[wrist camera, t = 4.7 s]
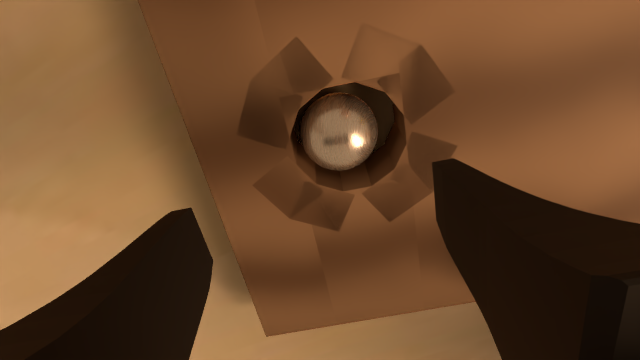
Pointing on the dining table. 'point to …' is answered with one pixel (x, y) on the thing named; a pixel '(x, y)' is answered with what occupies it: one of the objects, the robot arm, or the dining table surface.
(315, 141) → the steel ball
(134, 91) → the dining table surface
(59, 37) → the dining table surface
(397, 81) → the board
